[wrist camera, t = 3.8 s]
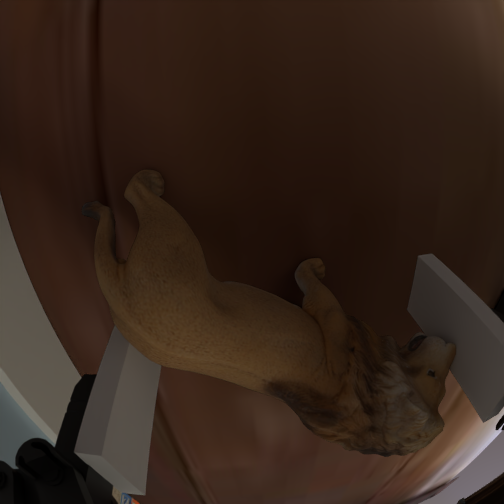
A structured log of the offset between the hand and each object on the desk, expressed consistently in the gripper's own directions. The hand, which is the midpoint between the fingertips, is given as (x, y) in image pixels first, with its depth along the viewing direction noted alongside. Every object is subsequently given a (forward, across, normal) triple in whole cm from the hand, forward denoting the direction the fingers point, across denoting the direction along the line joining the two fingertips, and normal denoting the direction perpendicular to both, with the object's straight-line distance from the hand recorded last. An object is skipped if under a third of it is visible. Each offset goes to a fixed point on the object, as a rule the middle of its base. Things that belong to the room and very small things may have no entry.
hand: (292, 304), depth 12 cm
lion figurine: (+3, +1, -1) cm, 3 cm away
